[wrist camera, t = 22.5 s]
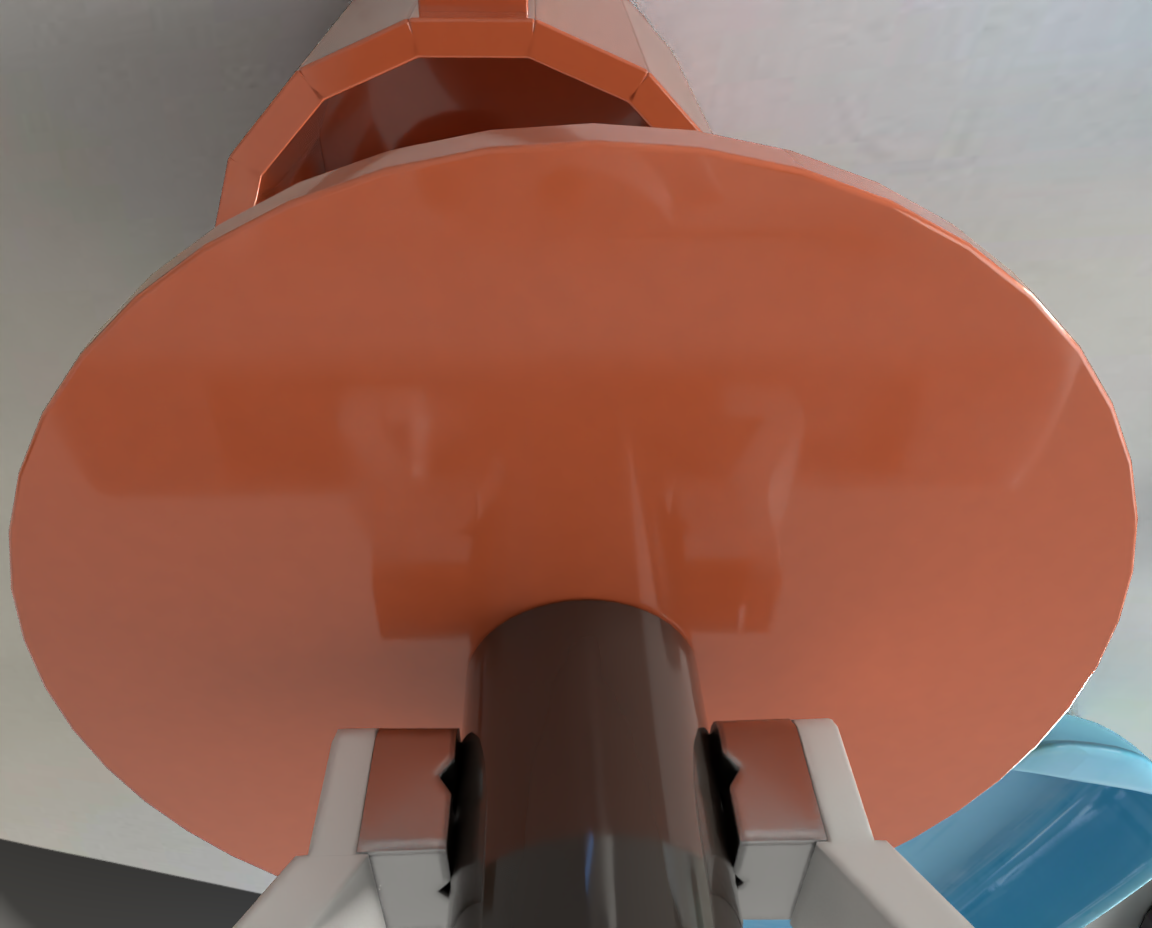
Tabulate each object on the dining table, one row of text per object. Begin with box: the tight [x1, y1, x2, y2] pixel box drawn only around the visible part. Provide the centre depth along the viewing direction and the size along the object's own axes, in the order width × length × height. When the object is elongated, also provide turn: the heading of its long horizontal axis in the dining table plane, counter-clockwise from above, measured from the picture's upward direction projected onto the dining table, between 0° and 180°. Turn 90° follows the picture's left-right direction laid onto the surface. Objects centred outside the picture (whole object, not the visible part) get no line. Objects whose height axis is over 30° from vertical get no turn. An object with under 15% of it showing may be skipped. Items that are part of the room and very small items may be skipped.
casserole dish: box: [743, 714, 1152, 928], centre depth 56 cm, size 37×22×7 cm, turn 162°
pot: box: [215, 0, 713, 227], centre depth 27 cm, size 14×19×10 cm
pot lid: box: [9, 123, 1138, 928], centre depth 11 cm, size 15×15×6 cm
